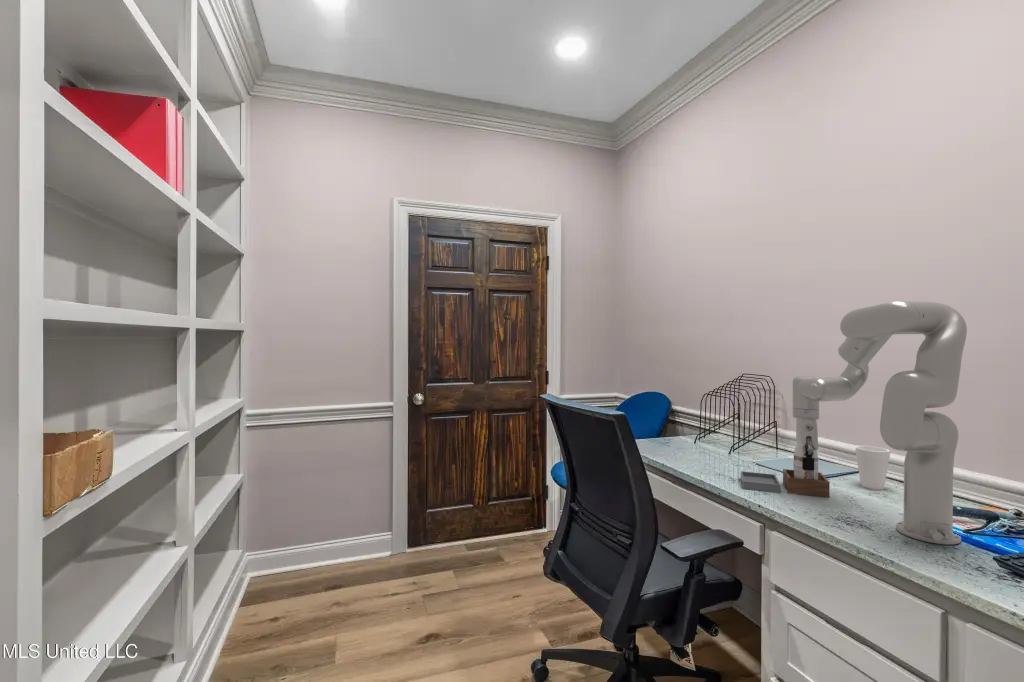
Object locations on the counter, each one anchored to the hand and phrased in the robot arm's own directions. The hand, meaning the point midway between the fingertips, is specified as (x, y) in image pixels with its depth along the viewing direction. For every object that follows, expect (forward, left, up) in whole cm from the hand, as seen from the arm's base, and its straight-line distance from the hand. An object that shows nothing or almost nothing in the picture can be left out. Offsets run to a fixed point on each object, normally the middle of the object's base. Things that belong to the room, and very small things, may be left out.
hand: (805, 466), depth 158 cm
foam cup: (+13, -22, -8) cm, 27 cm away
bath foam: (0, 0, -8) cm, 8 cm away
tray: (0, +14, -8) cm, 16 cm away
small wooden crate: (0, 0, -8) cm, 8 cm away
